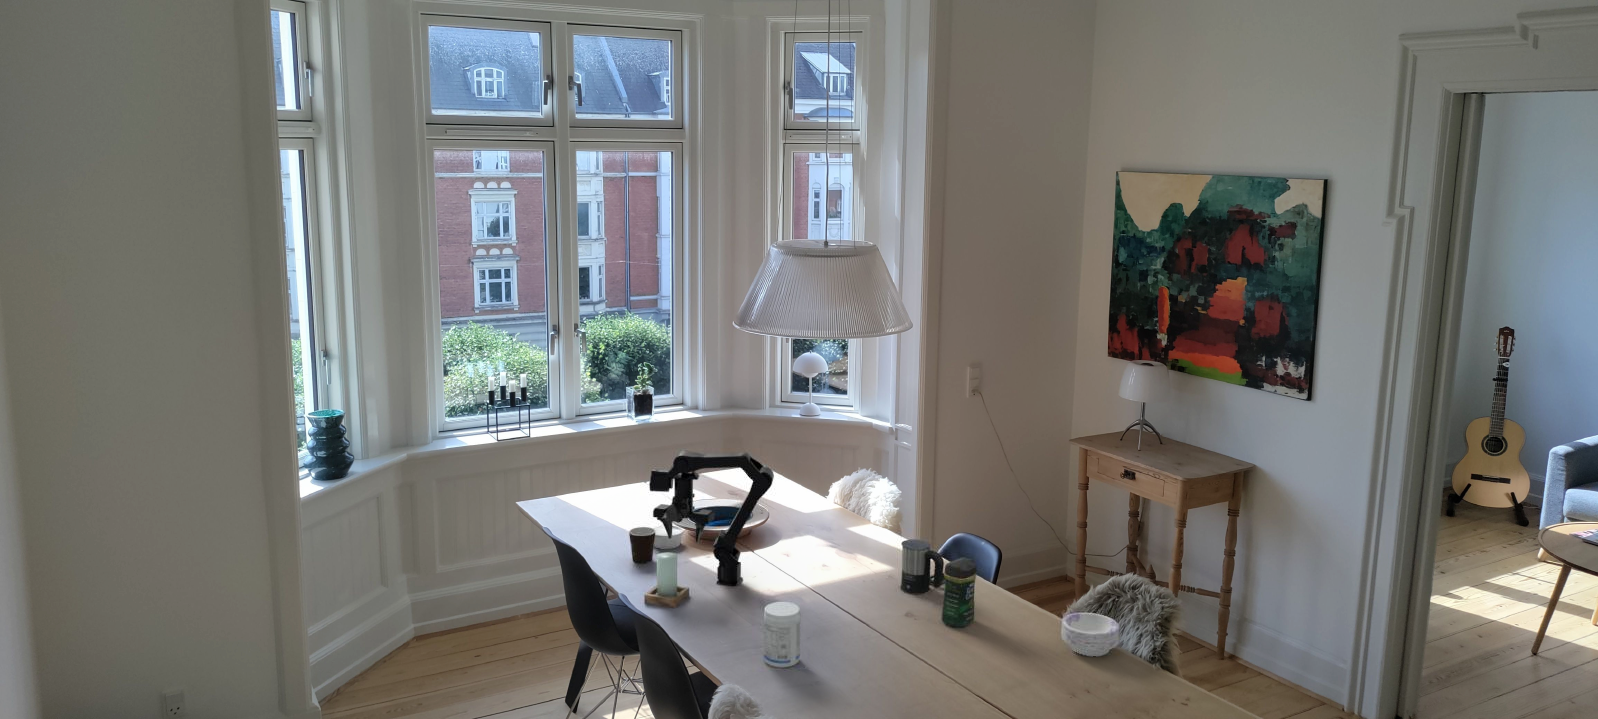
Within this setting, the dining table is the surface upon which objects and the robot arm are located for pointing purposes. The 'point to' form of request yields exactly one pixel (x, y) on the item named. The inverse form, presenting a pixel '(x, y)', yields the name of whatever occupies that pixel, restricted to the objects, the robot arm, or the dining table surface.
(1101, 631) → the paper bowls
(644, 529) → the coffee mug
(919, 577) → the milk frother
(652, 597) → the tray
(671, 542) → the ramekin
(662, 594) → the pale green rounded part
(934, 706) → the dining table surface
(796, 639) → the supplement tub
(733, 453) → the robot arm
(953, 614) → the coffee jar
